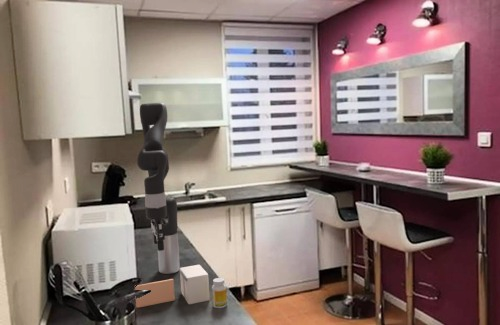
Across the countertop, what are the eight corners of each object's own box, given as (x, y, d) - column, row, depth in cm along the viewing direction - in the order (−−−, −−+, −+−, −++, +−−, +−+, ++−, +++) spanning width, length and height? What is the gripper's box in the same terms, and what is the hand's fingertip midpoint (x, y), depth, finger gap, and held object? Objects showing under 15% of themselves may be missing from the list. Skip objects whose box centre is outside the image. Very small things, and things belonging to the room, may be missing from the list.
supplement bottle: (209, 305, 154) (207, 280, 153) (220, 300, 157) (218, 275, 156) (219, 310, 150) (218, 283, 149) (230, 304, 154) (229, 279, 153)
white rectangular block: (180, 292, 166) (178, 268, 165) (200, 288, 170) (199, 264, 168) (187, 304, 155) (186, 278, 154) (209, 300, 158) (208, 274, 157)
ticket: (136, 306, 155) (134, 285, 154) (174, 299, 160) (173, 278, 159) (136, 307, 154) (135, 286, 153) (174, 300, 159) (173, 279, 158)
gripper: (142, 202, 162) (146, 243, 164) (148, 209, 149) (151, 254, 151) (162, 199, 165) (165, 240, 167) (169, 207, 152) (172, 250, 154)
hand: (159, 246), depth 159 cm, fingers open, 8 cm apart
